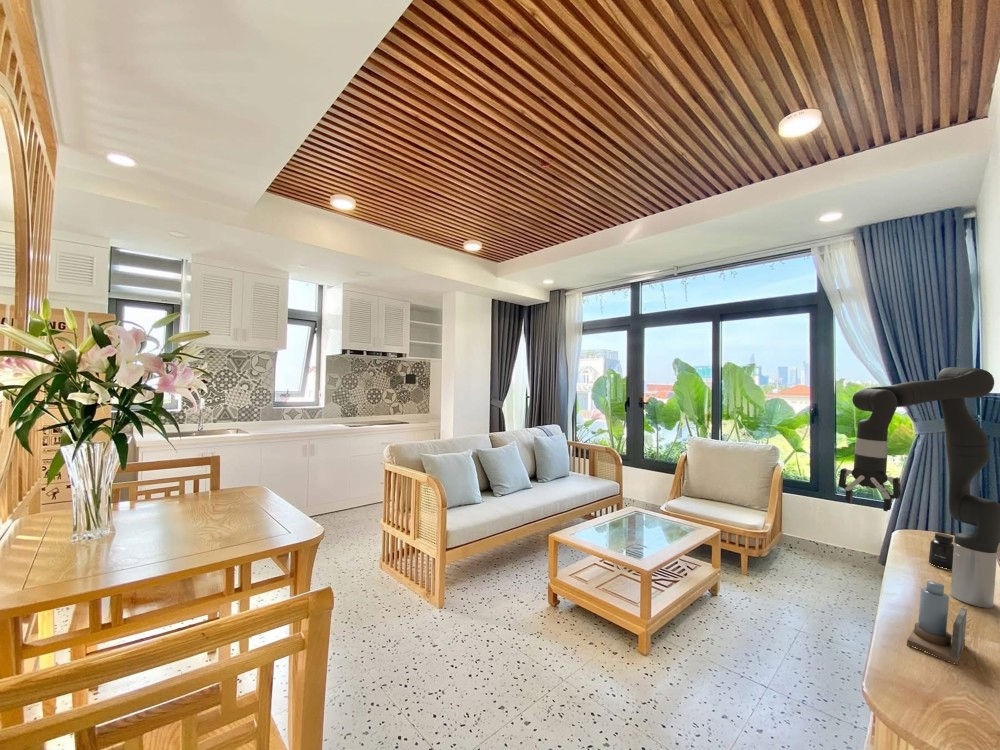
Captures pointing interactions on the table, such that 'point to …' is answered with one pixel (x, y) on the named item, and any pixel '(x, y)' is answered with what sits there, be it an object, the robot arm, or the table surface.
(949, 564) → the supplement bottle
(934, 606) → the blue grey bottle
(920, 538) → the table surface
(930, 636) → the display stand
